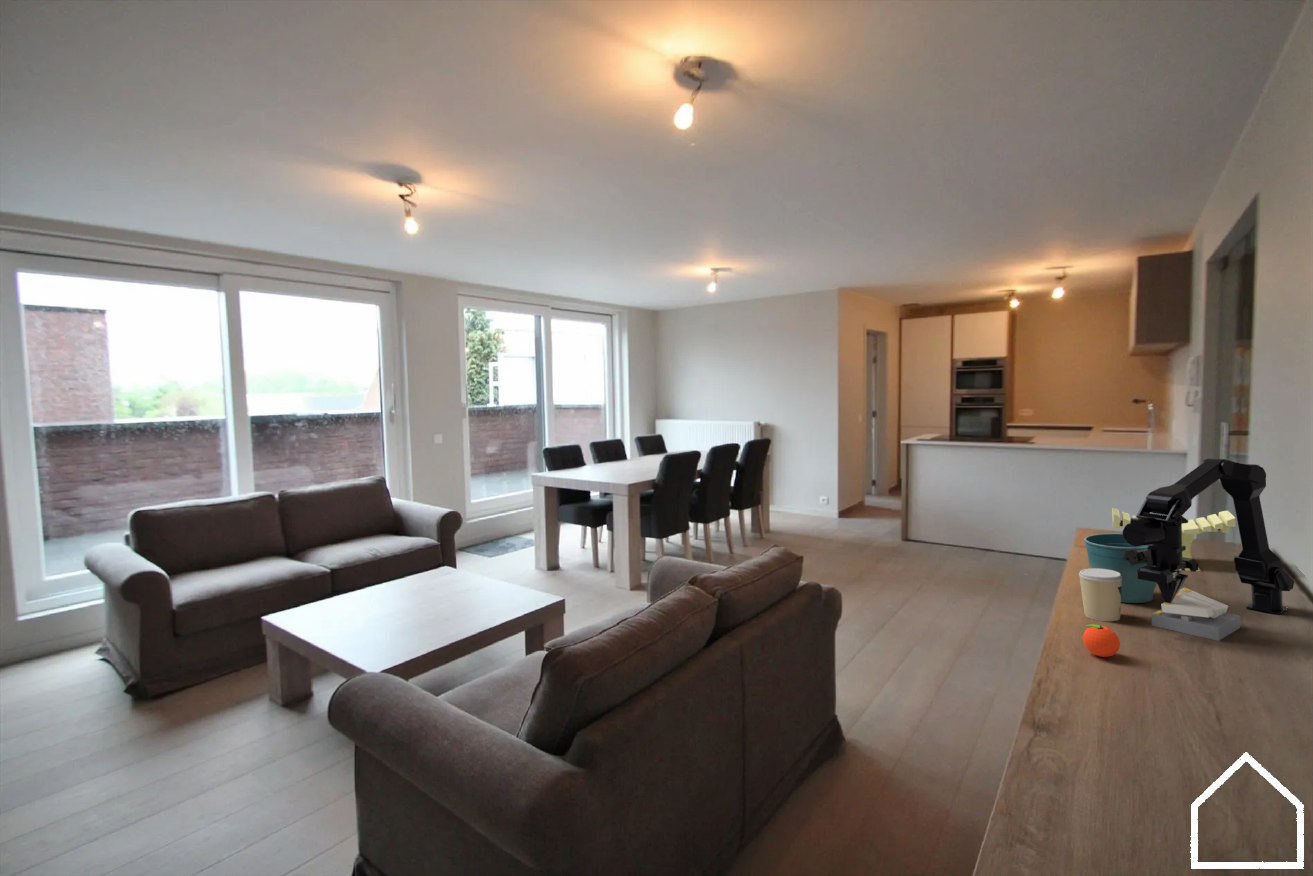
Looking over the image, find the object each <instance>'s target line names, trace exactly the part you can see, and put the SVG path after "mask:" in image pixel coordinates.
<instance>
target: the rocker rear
mask: <svg viewBox="0 0 1313 876" xmlns="http://www.w3.org/2000/svg"><path fill="white" fill-rule="evenodd" d="M1178 593H1179V594H1182V595H1184V596H1187V597H1190V598H1193V599H1196V600H1199V601H1202V602H1205V603H1207V604H1210V605H1213V606H1216V607H1219V608H1221V611H1220V616H1221V615H1223V614H1225V613H1227V611H1228V608H1229V605H1227V604H1225V603H1223V602H1221V601H1219V600H1216V599H1213V598H1210V597H1208V596H1207V595H1204V594H1201V593H1198V592H1197V591H1195V590H1194V591H1193V590H1192V589H1189V588H1187V587H1183V588H1180V589H1179V591H1178Z"/></svg>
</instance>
